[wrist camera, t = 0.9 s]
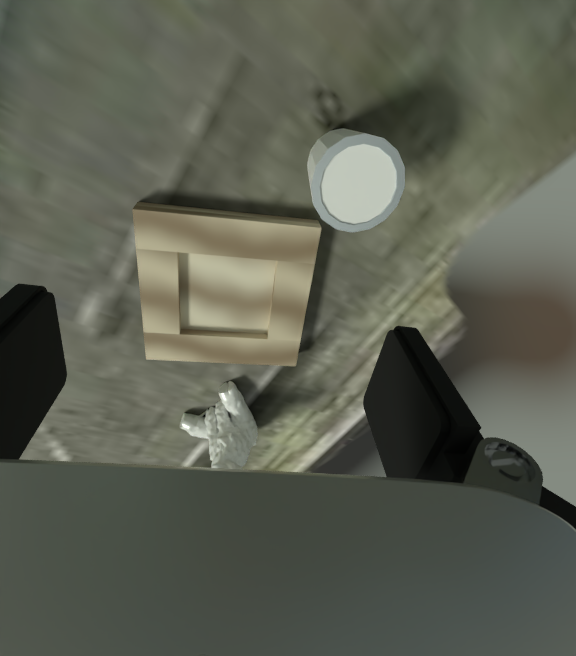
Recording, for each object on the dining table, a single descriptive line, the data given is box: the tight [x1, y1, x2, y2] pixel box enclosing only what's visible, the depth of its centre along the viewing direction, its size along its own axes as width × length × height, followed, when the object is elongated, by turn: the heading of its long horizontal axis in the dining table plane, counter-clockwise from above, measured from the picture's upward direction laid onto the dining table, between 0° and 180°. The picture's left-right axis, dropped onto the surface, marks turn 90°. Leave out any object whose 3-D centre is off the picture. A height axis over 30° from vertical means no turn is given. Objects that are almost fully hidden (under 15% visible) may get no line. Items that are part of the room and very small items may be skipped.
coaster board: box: [133, 202, 321, 366], centre depth 39 cm, size 16×16×2 cm
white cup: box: [307, 128, 405, 232], centre depth 31 cm, size 7×7×7 cm
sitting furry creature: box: [180, 381, 258, 469], centre depth 45 cm, size 10×9×12 cm
